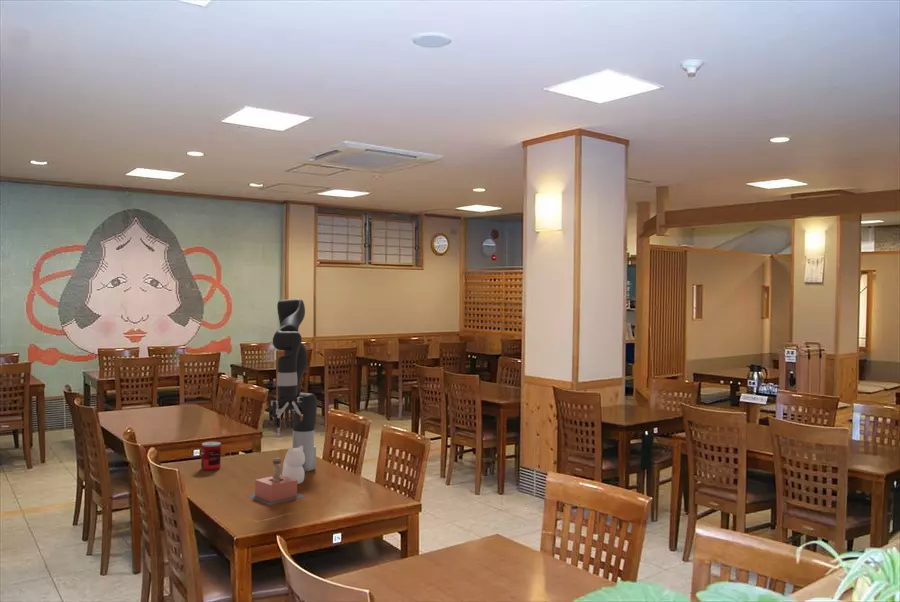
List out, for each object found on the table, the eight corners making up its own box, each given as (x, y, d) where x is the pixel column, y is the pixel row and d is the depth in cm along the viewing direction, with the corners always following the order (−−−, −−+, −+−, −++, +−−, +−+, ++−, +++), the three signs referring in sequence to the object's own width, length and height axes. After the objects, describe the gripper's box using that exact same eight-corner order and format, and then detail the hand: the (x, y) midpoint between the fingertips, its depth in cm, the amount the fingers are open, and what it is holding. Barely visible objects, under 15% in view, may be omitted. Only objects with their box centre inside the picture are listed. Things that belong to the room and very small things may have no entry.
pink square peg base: (280, 490, 269) (280, 474, 269) (296, 496, 261) (297, 480, 261) (255, 495, 260) (255, 479, 260) (271, 502, 253) (271, 485, 253)
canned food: (206, 466, 306) (206, 441, 306) (223, 467, 305) (224, 442, 305) (197, 470, 298) (198, 444, 298) (215, 471, 297) (215, 445, 297)
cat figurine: (291, 488, 274) (292, 450, 274) (273, 481, 282) (274, 444, 282) (310, 483, 281) (311, 446, 280) (291, 477, 289) (292, 441, 289)
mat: (282, 488, 272) (282, 487, 272) (306, 497, 261) (306, 496, 261) (245, 496, 260) (245, 495, 260) (269, 505, 249) (269, 504, 249)
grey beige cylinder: (277, 494, 263) (278, 457, 263) (281, 495, 261) (282, 458, 261) (270, 495, 261) (271, 458, 261) (275, 497, 259) (275, 459, 259)
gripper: (297, 380, 273) (297, 421, 274) (265, 384, 263) (265, 427, 263) (308, 382, 268) (308, 424, 269) (276, 386, 258) (276, 430, 258)
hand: (287, 425), depth 266 cm, fingers open, 8 cm apart
